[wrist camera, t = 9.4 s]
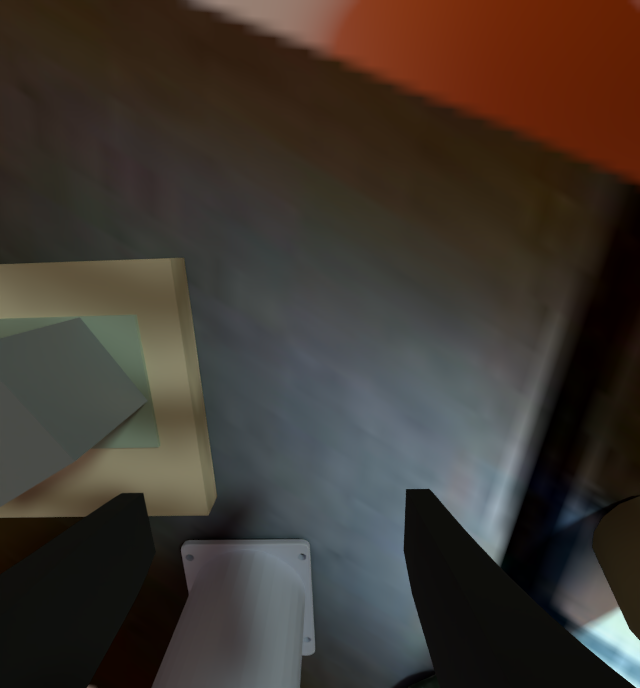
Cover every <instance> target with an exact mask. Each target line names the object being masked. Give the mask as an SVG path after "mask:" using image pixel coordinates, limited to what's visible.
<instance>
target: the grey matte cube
mask: <svg viewBox="0 0 640 688" xmlns="http://www.w3.org/2000/svg"><path fill="white" fill-rule="evenodd" d="M147 401H148V400H147V399H146V398H145V397H144V396H143V394H142V393H141V392H140V391H139V389H138V388H137V387H136V386H135V384H134V383H133V382H132V381H131V380H130V378H129V377H128V376H127V375H126V373H125V372H124V371H123V370H122V368H121V367H120V366H119V365H118V364H117V362H116V361H115V360H114V359H113V357H112V356H111V355H110V354H109V353H108V351H107V350H106V349H105V348H104V346H103V345H102V344H101V343H100V341H99V340H98V339H97V338H96V337H95V335H94V334H93V333H92V332H91V330H90V329H89V328H88V327H87V325H86V324H85V323H84V322H83V321H82V319H81V318H80V317H79V318H75V319H71V320H67V321H64V322H60V323H56V324H52V325H49V326H45V327H41V328H37V329H34V330H30V331H26V332H22V333H19V334H15V335H11V336H7V337H4V338H0V507H1V506H3V505H4V504H6V503H8V502H9V501H11V500H13V499H14V498H16V497H17V496H19V495H21V494H22V493H24V492H26V491H27V490H29V489H31V488H32V487H34V486H35V485H37V484H39V483H40V482H42V481H44V480H45V479H47V478H49V477H50V476H52V475H53V474H55V473H57V472H58V471H60V470H62V469H63V468H65V467H67V466H68V465H70V464H71V463H73V462H75V461H76V460H77V459H78V458H80V457H81V456H82V455H83V454H84V453H86V452H87V451H88V450H89V449H90V448H92V447H93V446H94V445H95V444H97V443H98V442H99V441H100V440H101V439H103V438H104V437H105V436H106V435H107V434H109V433H110V432H111V431H112V430H113V429H115V428H116V427H117V426H118V425H119V424H121V423H122V422H123V421H124V420H125V419H127V418H128V417H129V416H130V415H131V414H133V413H134V412H135V411H136V410H137V409H139V408H140V407H141V406H142V405H143V404H145V403H146V402H147Z"/></svg>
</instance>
